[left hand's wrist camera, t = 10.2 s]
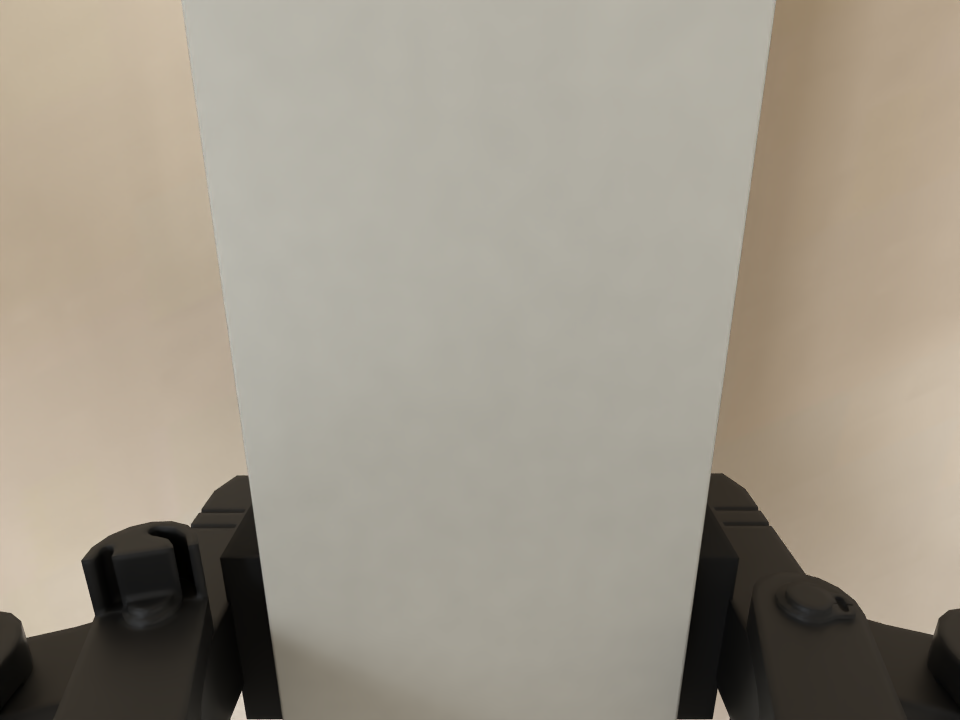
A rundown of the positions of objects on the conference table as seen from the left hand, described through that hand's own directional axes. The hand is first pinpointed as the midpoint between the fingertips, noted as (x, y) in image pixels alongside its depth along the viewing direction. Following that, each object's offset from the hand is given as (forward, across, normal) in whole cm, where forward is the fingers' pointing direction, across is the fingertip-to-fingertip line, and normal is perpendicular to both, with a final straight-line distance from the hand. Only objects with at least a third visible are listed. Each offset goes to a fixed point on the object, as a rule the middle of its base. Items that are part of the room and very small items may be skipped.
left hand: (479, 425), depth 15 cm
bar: (+1, 0, -23) cm, 23 cm away
